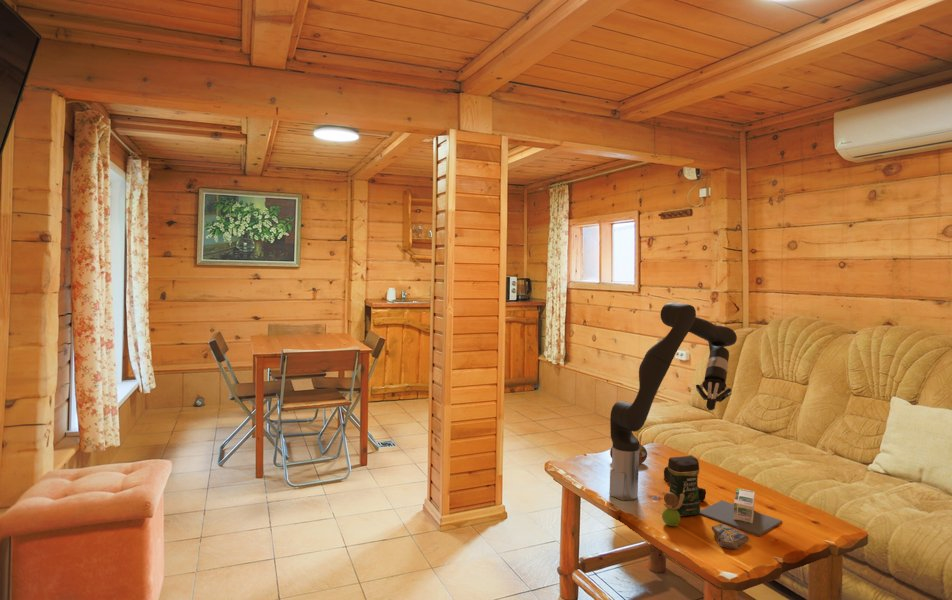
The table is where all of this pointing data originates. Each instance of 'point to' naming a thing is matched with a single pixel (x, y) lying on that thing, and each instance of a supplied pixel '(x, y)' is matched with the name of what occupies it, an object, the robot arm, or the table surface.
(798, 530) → the table surface
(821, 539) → the table surface
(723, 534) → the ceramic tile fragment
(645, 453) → the tin
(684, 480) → the coffee jar
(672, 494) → the snail figurine
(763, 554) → the table surface
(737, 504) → the syrup box
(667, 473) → the hand tool
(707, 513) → the charcoal mat
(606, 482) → the table surface
